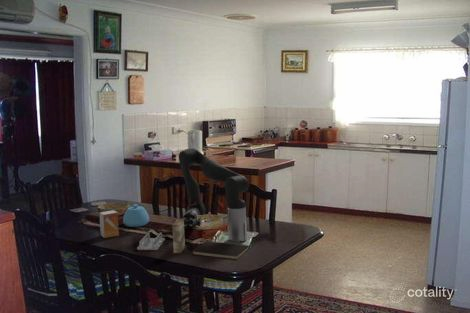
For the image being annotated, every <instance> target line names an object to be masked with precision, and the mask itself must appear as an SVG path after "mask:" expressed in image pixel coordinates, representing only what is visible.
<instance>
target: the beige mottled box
mask: <svg viewBox="0 0 470 313" xmlns="http://www.w3.org/2000/svg"><path fill="white" fill-rule="evenodd" d="M176 219H177V220H176V221H175V222H174V224H173V223H172V226H171V227H172V240H173V241H172V245H173V246H172V247H173V254H181V253H183V251H184V249H185V247H186V244H185V243H186V242H185V239H186V238H185V225H184V219H182V218H181V219H179V218H176Z"/></svg>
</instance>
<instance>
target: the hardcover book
mask: <svg viewBox="0 0 470 313" xmlns="http://www.w3.org/2000/svg"><path fill="white" fill-rule="evenodd" d="M248 250H250V245H247V244H246V245H245V244H237V243H236V244H235V243H228V242H227V243H226V242H225V243H224V242H218V241H210V240H209V241H208V240H205V241H204V242H203V243H201V244H200V245H199V246H197V247H195V248H194V249H192V254H193V255H198V256H206V257H207V256H208V257H213V258H225V259H233V260H237V259H239V258H240V257H241V256H242V255H243V254H244V253H246V251H248Z"/></svg>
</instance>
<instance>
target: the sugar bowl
mask: <svg viewBox="0 0 470 313" xmlns="http://www.w3.org/2000/svg"><path fill="white" fill-rule="evenodd" d="M122 218H123V219H122V223H123V224H124V225H125V226H126V227H129V228H139V227H144V226H147V224H148V223H149V222H150V216H149V214H148V212H147V210H146V209H145V207H144V206H139V204H133V205H132V206H130V207H128V208H127V209H126V211H125V213H124V214H123V216H122Z"/></svg>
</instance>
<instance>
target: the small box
mask: <svg viewBox="0 0 470 313" xmlns="http://www.w3.org/2000/svg"><path fill="white" fill-rule="evenodd" d="M98 214H99V228H100V229H99V230H100V236H101V237H103V238H104V239H108V238H113V237H118V236H120V235H119V234H120V232H119V219H118V218H119V215H118V212H117V211H116V210H109V211H107V210H106V211H101V212H99V213H98Z"/></svg>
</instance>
